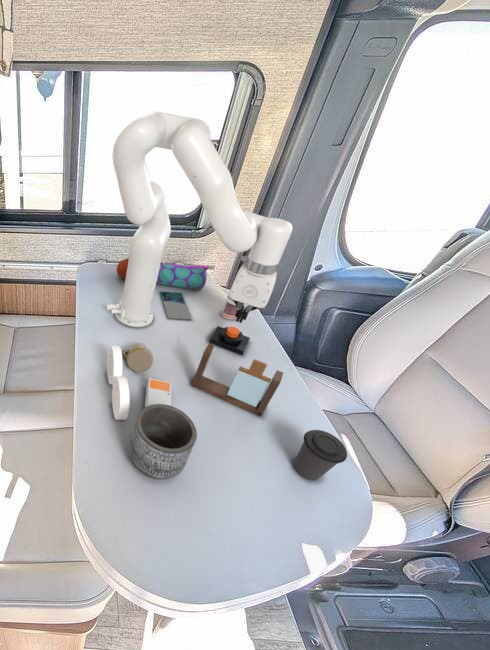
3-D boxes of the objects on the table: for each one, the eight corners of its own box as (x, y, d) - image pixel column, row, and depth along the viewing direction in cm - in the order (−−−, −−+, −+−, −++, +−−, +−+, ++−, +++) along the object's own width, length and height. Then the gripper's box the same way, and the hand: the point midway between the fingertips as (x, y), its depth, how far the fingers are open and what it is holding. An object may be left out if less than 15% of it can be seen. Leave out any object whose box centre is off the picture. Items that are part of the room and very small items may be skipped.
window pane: (226, 395, 102) (244, 357, 94) (227, 393, 103) (245, 355, 94) (255, 407, 99) (276, 369, 91) (256, 405, 99) (276, 367, 91)
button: (224, 335, 119) (226, 330, 118) (227, 329, 122) (229, 325, 121) (236, 339, 118) (238, 335, 117) (239, 333, 120) (241, 329, 119)
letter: (105, 365, 112) (110, 338, 106) (113, 365, 112) (118, 338, 106) (115, 428, 94) (122, 400, 88) (124, 428, 94) (131, 400, 88)
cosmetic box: (171, 381, 101) (172, 417, 92) (168, 392, 104) (168, 428, 95) (148, 376, 102) (146, 411, 93) (145, 388, 105) (143, 423, 96)
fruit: (121, 269, 156) (124, 251, 151) (142, 276, 152) (145, 258, 147) (111, 278, 150) (113, 260, 145) (131, 286, 146) (135, 267, 141)
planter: (123, 438, 92) (132, 402, 84) (175, 440, 92) (188, 404, 84) (130, 486, 82) (141, 450, 75) (187, 489, 82) (204, 453, 75)
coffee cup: (311, 492, 83) (334, 466, 77) (278, 462, 88) (297, 435, 82) (335, 477, 86) (358, 450, 80) (301, 448, 91) (321, 421, 85)
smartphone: (168, 317, 130) (160, 291, 143) (167, 318, 131) (159, 292, 143) (191, 319, 130) (181, 292, 143) (190, 320, 130) (180, 293, 143)
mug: (149, 351, 117) (162, 340, 108) (140, 380, 114) (152, 371, 104) (126, 341, 118) (137, 329, 109) (116, 370, 114) (126, 360, 105)
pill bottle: (238, 320, 131) (246, 299, 126) (223, 319, 131) (231, 298, 126) (233, 311, 135) (241, 291, 130) (219, 311, 135) (227, 290, 130)
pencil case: (145, 286, 146) (150, 263, 140) (146, 274, 153) (151, 252, 147) (202, 295, 143) (210, 272, 137) (201, 282, 150) (208, 260, 144)
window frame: (191, 385, 106) (203, 351, 99) (196, 377, 109) (208, 343, 101) (260, 416, 99) (280, 382, 91) (264, 407, 101) (283, 372, 94)
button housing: (208, 342, 121) (212, 333, 119) (216, 329, 127) (219, 321, 124) (242, 355, 117) (246, 346, 115) (248, 341, 122) (252, 333, 120)
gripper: (228, 262, 106) (210, 317, 117) (289, 279, 99) (263, 335, 110) (235, 252, 111) (217, 305, 122) (293, 267, 104) (269, 322, 115)
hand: (239, 319), depth 116 cm, fingers closed
